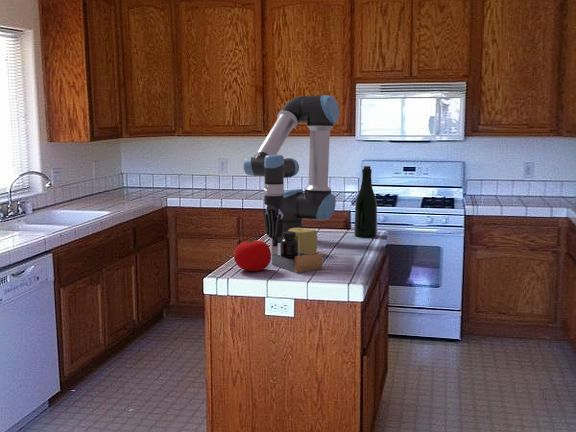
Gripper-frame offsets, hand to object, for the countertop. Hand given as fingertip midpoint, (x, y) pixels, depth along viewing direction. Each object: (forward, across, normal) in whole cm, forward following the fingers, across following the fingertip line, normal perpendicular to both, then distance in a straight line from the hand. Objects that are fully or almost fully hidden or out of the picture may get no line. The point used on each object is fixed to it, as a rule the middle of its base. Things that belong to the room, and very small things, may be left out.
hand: (273, 254), depth 270 cm
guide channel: (+2, +16, 0) cm, 16 cm away
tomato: (+2, +13, -17) cm, 22 cm away
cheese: (+2, -4, +15) cm, 16 cm away
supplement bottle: (+2, +11, 0) cm, 11 cm away
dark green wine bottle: (+2, -22, +64) cm, 67 cm away
